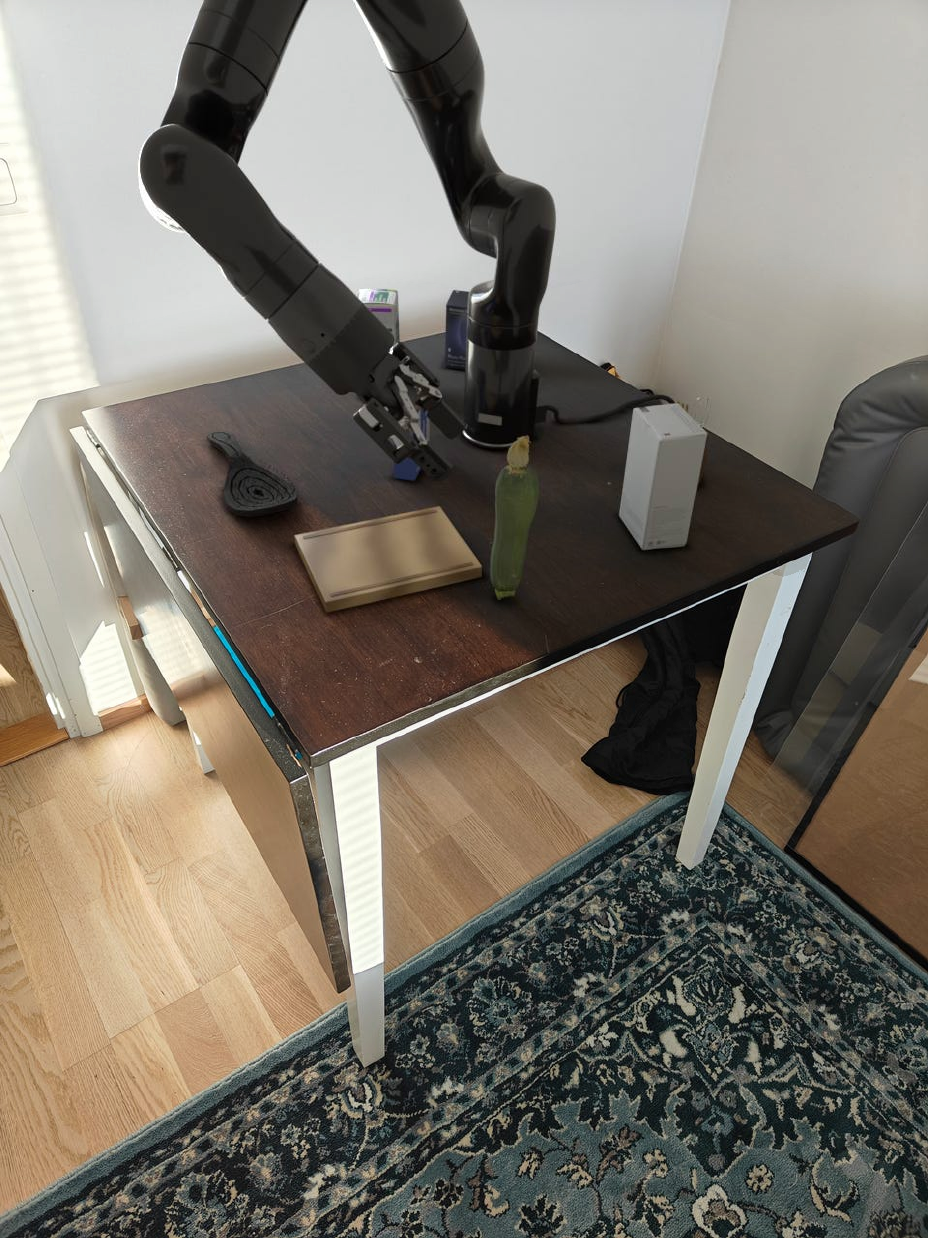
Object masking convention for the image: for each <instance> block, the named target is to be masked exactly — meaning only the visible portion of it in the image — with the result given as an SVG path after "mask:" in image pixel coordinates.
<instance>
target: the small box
mask: <svg viewBox="0 0 928 1238" xmlns="http://www.w3.org/2000/svg"><path fill="white" fill-rule="evenodd" d="M469 292H470V291H468V290H467V291H466V290H458V289H452V291H451V293H450V295H449V298H448V299H447V302H446V304H445V335H444V337H445V338H444V368H446V369H447V368H448V369H455V370H464V371H465V364H466V339H467V308H468V295H469Z"/></svg>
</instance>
